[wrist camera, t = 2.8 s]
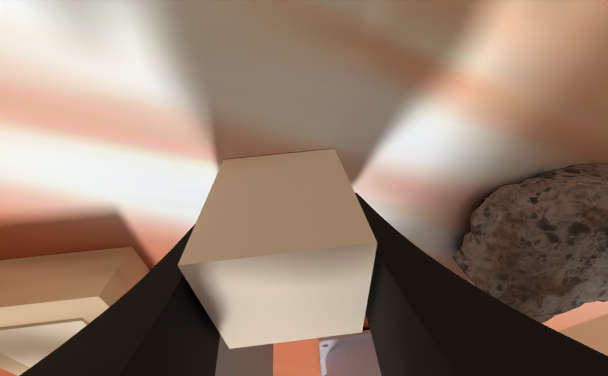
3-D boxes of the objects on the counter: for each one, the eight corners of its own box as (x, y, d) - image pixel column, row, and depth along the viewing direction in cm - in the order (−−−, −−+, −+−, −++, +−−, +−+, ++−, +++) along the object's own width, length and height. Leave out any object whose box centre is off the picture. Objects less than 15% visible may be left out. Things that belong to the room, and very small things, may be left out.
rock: (506, 285, 17) (560, 347, 14) (415, 234, 13) (462, 304, 10) (648, 207, 13) (771, 265, 10) (585, 100, 9) (757, 138, 6)
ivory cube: (334, 227, 12) (362, 332, 8) (247, 237, 12) (229, 348, 8) (334, 148, 9) (377, 242, 5) (223, 159, 9) (177, 265, 5)
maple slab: (190, 316, 16) (173, 369, 14) (75, 330, 16) (36, 386, 14) (135, 240, 12) (96, 298, 9) (-27, 257, 11) (-113, 322, 9)
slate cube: (273, 322, 17) (271, 413, 13) (220, 336, 18) (202, 428, 14) (245, 292, 15) (232, 394, 11) (184, 309, 15) (148, 412, 11)
